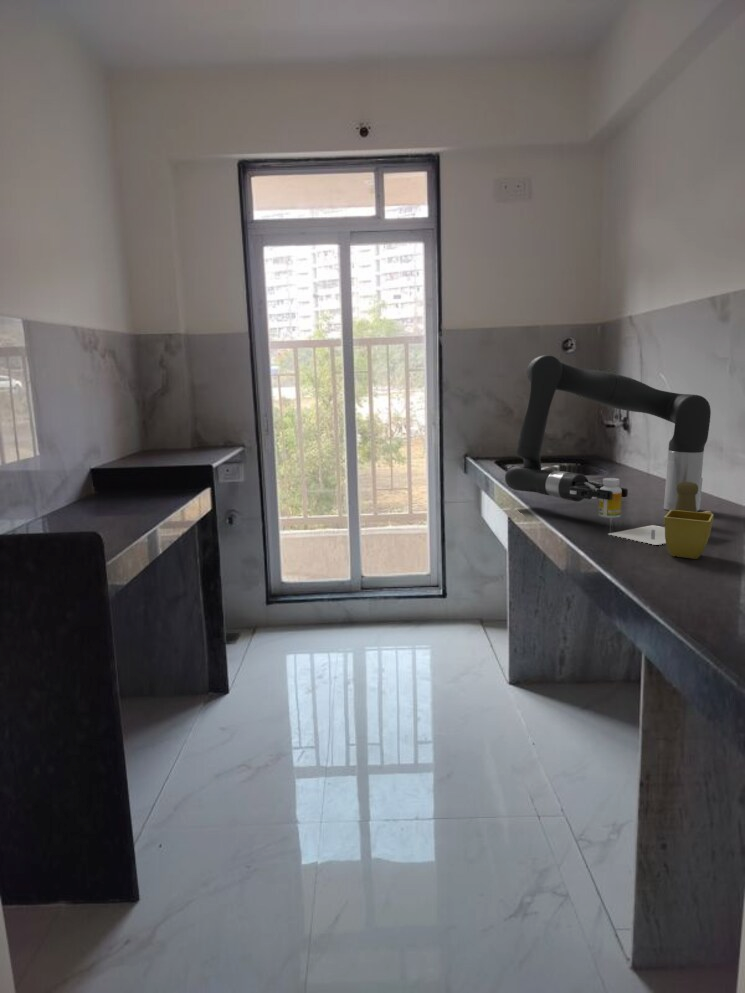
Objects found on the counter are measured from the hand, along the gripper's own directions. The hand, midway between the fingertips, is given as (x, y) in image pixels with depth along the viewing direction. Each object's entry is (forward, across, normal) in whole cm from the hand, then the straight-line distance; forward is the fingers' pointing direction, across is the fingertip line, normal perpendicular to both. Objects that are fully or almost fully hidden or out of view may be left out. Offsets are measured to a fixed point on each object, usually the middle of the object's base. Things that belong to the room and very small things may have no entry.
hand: (619, 494), depth 166 cm
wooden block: (+17, +8, +9) cm, 21 cm away
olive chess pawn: (+6, +20, +9) cm, 22 cm away
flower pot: (+25, -10, +9) cm, 29 cm away
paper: (+10, 0, +9) cm, 13 cm away
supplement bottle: (-3, 0, +6) cm, 7 cm away
